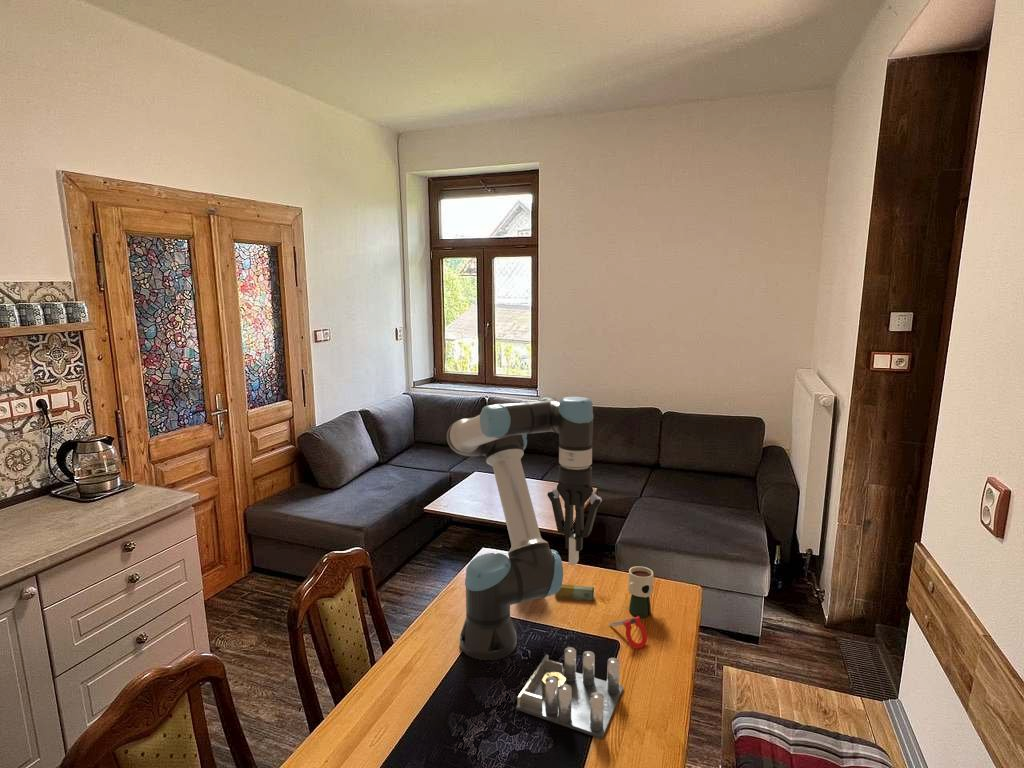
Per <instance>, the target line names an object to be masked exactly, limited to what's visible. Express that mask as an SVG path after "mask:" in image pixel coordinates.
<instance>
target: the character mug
mask: <svg viewBox="0 0 1024 768" xmlns="http://www.w3.org/2000/svg"><path fill="white" fill-rule="evenodd" d="M628 593H629V594H631V596H630V601H629V607H628V610H629V612H630V613H631V614H633V615H634V616H636V617H637V616H639V617H640V618H647V617H648V616H649V615H651V613H652V612H651V611H652V609H651V608H652V607H651V598H650V597H651V596H653V593H654V571H653V570H652V569H650V568H648V567H646V566H640V565H639V566H632V567H630V568H629V569H628Z"/></svg>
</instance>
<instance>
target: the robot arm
mask: <svg viewBox="0 0 1024 768" xmlns="http://www.w3.org/2000/svg"><path fill="white" fill-rule="evenodd" d="M594 418H595V417H594V410H593V401H592V400H591V399H590V398H589V397H585V396H583V397H582V396H565V397H562V398H561V399H558V398H555V397H542V398H541V399H539V400H537V401H535V400H534V401H526V402H525V401H524V402H515V403H495V404H490V405H485V406H484V407H482V408H481V412H480V413H479V414H478V415H476V416H474V417H468V418H461V419H459V420H456V421H455V422H453V423H452V424H451V425H450V426H449V427H448V430H447V433H446V441H447V444H448V446H449V448H450V449H451V450H452V451H453V452H454V453H456V454H458V455H461V456H464V457H481V456H484V457H485V462H486V464H487V465H489V466H491V467H492V469H493V473H494V477H495V482H496V486H497V487H496V488H497V491H498V494H499V499H500V503H501V507H502V510H503V511H502V512H503V515H504V519H505V523H506V527H507V531H508V536H509V540H510V545H511V547H510V549H509V550H508V552H507V555H506V554H503V553H500V552H499V553H498V552H497V553H494V552H490V553H489V552H488V553H485V554H481V555H479V556H476V557H475V558H473V559H472V560H471V561H470V562H469V564H468V565H467V566H466V571H465V579H464V580H465V581H464V586H465V613H466V614H465V619H464V622H463V626H462V629H461V631H460V635H459V647H460V650H461V649H462V650H461V651H462V653H463V652H464V653H465V654H464V653H463V654H464V655H466V656H467V655H468V656H467V657H469V656H470V657H469V658H471V657H472V658H471V659H473V658H475V659H474V660H476V659H479V660H478V661H482V660H485V662H487V661H486V660H490V661H491V660H492V661H497V660H501V659H504V658H506V657H508V656H509V655H511V654H512V653H513V652H514V651H515V649H516V648H517V643H518V642H517V632H516V629H515V626H514V623H513V620H512V617H511V606H513V605H516V604H521V603H525V602H529V601H534V600H538V599H545V598H547V597H550V596H555V594H556V593H557V592H558V591H559V590H560V588H561V586H562V584H563V581H564V566H563V561H562V558H561V556H560V554H559V552H558V551H557V550H555V549H550V545H549V541H546V540H545V539H543V537H542V536H541V532H540V529H539V524H538V521H537V516H536V513H535V510H534V509H535V508H534V505H533V502H532V498H531V495H530V491H529V487H528V483H527V480H526V479H527V478H526V475H525V472H524V468H523V464H522V460H521V459H522V458H523V456H524V454H525V453H524V451H525V450H526V448H527V445H528V439H527V437H528V435H529V434H530V435H531V434H539V433H549V432H552V433H555V434H557V435H558V463H559V464H560V465H558V484H557V486H556V488H555V489H553V488H552V489H551V490H550V491H548V492H547V497H548V498H549V501H550V502H551V508H552V511H553V515H554V521H555V524H556V529H557V532H558V533H559V534H563V535H564V537H565V538H564V539H565V540H564V541H565V543H564V546H565V549H566V550H568V566H569V565H571V566H574V567H575V566H576V565H577V563H578V562H579V560H580V556H579V555H580V554H579V553H580V552H581V551H582V550H583V548H584V547H583V546H584V545H583V544H584V538H588V537H589V535H590V534H591V533H592V530H593V527H594V522H595V520H596V515H597V512H598V508H599V506H600V504H601V503H602V502H603V501H604V498H603V497H602V496H599V495H597V494H596V493H595V492H594V488H593V486H592V481H593V480H592V479H593V478H592V475H593V473H592V472H593V467H592V466H591V465H592V464H593V435H594V433H593V432H594V431H593V430H594V429H593V428H594ZM560 497H561V498H562V500H563V502H564V512H563V507H562V503H561V498H560ZM589 499H590V504H591V505H590V508H589V509H588V510H589V511H588V514H587V518H586V522H585V504H586V503H587V501H589ZM574 510H575V526H574ZM574 527H575V529H574ZM574 531H575V533H574Z"/></svg>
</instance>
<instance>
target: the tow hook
mask: <svg viewBox="0 0 1024 768" xmlns="http://www.w3.org/2000/svg"><path fill="white" fill-rule="evenodd" d="M634 624H635V625H634ZM622 625H623V626H624V627H625V637H626V641H627V642H628V643H629V645H630V646H631V647H633V648H634V649H642V648H643V647H645V646H646V644H647V642H648V641H647V640H648V633H647V629H646V627H645V626H644V624H643V623H642V622H641V617H639V616H636V617H632V618H631V617H630V618H628V619H623V620H621V621H614V622H612V623H609V626H610V627H611V626H614V627H617V626H622ZM632 625H634V626H635V627H637V628H639V630H640V631H641V637H642V638H641V640H640V642H635V640H633V638H632V634H631V631H632V629H633V627H632Z"/></svg>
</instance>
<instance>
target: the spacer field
mask: <svg viewBox="0 0 1024 768" xmlns="http://www.w3.org/2000/svg"><path fill="white" fill-rule="evenodd" d="M563 652H564V654H563V655H564V658H563V659H564V661H563V662H564V663H563V662H558V661H555V660H552V659H549V657H550V655H549V654H545V655H544V657H543V658H542V660H541V662H540V663H539V665H538V666H537V667H536V669H535V670H534V672H533V673H532V675H531V676H530V678H529V679H528V680H527V682H526V684H525V685H524V687H523V688H522V690H521V691H520V693H519V694H518V696H517V705H516V710H517V711H519V712H523V713H525V714H528V715H532V716H534V717H537V718H540V719H543V720H546V721H548V722H551V723H554V724H557V725H560V726H562V727H567V728H568V729H572V730H575V731H578V732H580V733H584V734H586V735H589V736H592V737H595V738H598V739H601V740H604V737H605V735H606V732H607V730H608V727H609V724H611V720H612V718H613V716H614V713H615V710H616V708H617V705H618V703H619V700H620V698H621V696H622V694H623V691H624V685H620V668H621V667H620V666H621V664H620V662H621V661H620V659H618V658H616V657H609V658H608V659H607V664H606V665H607V667H606V669H607V671H606V672H607V673H606V680H603V679H600V678H597V677H595V668H596V666H595V665H596V664H595V662H596V660H595V659H596V658H595V657H596V655H595V653H594V652H593V651H590V650H586V651H584V652H583V653H582V673H580V672H577V649H575V647H571V646H568V647H566V648H565V649H564V651H563ZM551 672H559V673H560V674H561V675H563V676H564V677H565V678H566V684H562V685H560V686H559V698H558V679H557V678H555V677H548V678H547V679H546V686H545V694H544V693H542V679H543V677H544V676H545V674H546V673H551Z"/></svg>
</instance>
